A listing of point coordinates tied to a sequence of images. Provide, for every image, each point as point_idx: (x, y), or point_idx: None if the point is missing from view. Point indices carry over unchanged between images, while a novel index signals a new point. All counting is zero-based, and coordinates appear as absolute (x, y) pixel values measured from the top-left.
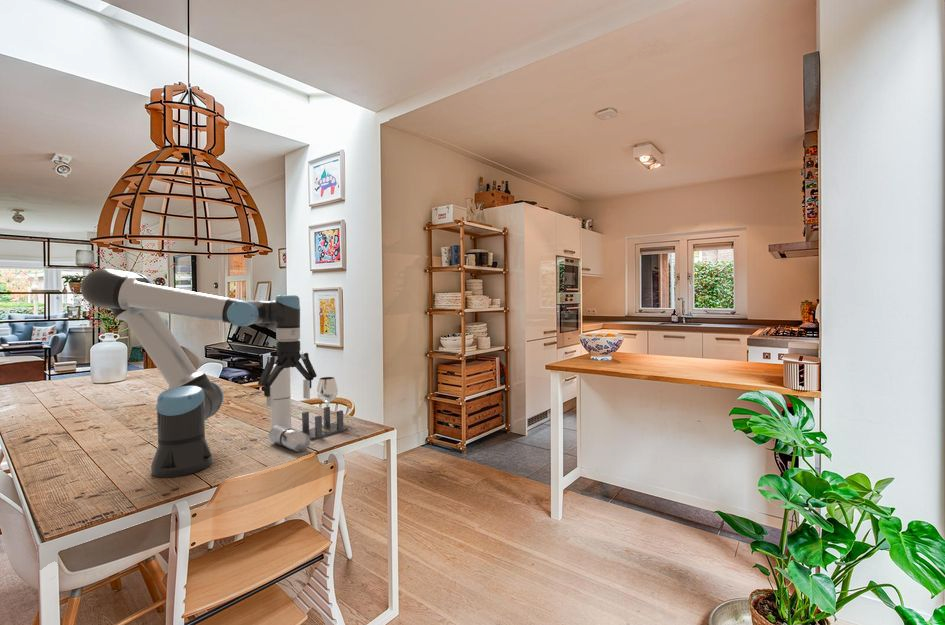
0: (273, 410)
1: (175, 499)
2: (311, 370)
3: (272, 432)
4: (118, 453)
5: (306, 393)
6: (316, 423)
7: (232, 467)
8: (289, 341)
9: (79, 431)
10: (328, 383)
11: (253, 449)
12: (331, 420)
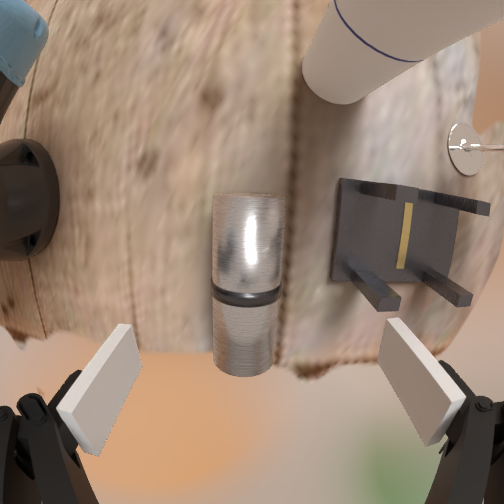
0: (322, 41)
1: (15, 338)
2: (487, 486)
3: (214, 218)
4: None
5: (392, 369)
6: (367, 296)
7: (81, 292)
8: None
9: None
10: None
11: (160, 199)
12: (475, 153)
